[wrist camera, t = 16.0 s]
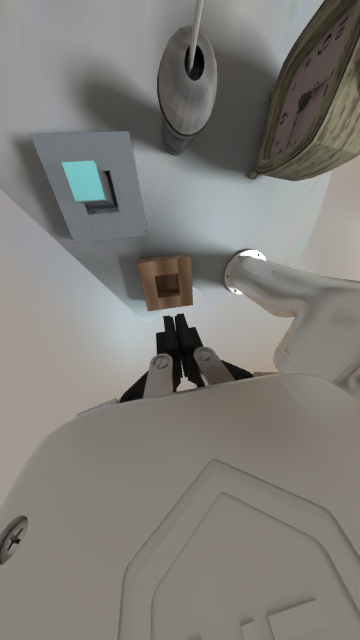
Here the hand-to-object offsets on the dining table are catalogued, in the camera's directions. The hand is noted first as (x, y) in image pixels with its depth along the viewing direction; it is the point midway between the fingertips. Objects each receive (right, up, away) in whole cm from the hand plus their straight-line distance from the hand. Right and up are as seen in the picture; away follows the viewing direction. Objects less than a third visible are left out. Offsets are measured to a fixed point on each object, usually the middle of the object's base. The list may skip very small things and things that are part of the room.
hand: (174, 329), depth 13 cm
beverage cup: (-1, +35, +16) cm, 38 cm away
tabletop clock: (+19, +37, +18) cm, 45 cm away
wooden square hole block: (-3, +12, +29) cm, 32 cm away
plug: (-15, +26, +17) cm, 34 cm away
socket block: (-15, +26, +18) cm, 35 cm away
